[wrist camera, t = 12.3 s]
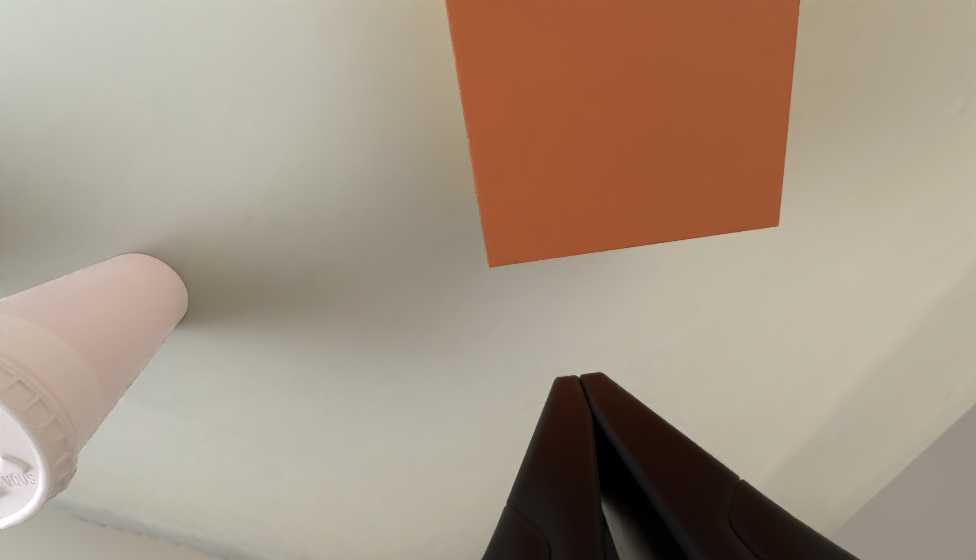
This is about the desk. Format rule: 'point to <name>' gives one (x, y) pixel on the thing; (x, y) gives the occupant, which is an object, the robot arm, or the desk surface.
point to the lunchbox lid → (622, 119)
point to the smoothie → (73, 367)
